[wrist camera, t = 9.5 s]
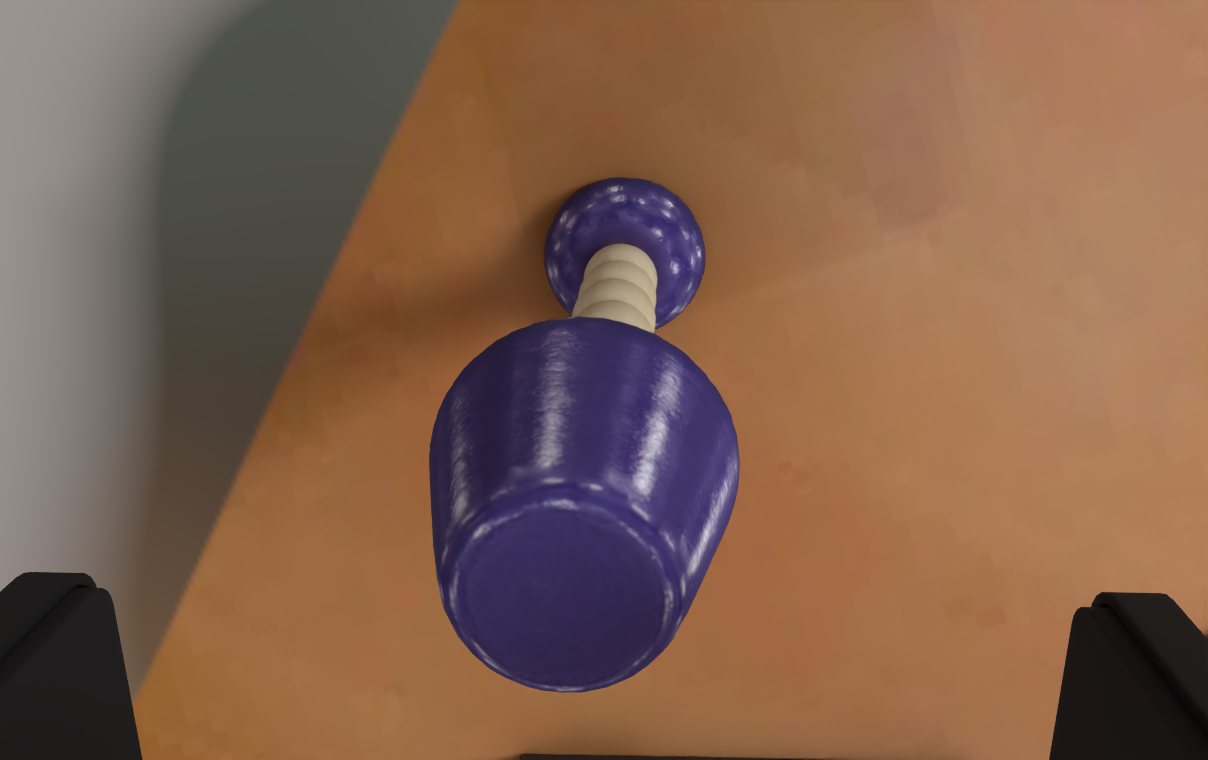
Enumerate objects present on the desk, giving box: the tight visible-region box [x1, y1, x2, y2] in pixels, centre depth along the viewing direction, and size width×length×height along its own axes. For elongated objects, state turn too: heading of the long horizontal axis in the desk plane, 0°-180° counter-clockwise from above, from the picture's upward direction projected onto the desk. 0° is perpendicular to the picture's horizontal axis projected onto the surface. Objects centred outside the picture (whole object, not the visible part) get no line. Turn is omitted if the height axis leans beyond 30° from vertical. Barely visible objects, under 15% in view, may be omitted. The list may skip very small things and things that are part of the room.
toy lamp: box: [429, 178, 740, 692], centre depth 20 cm, size 5×5×17 cm
